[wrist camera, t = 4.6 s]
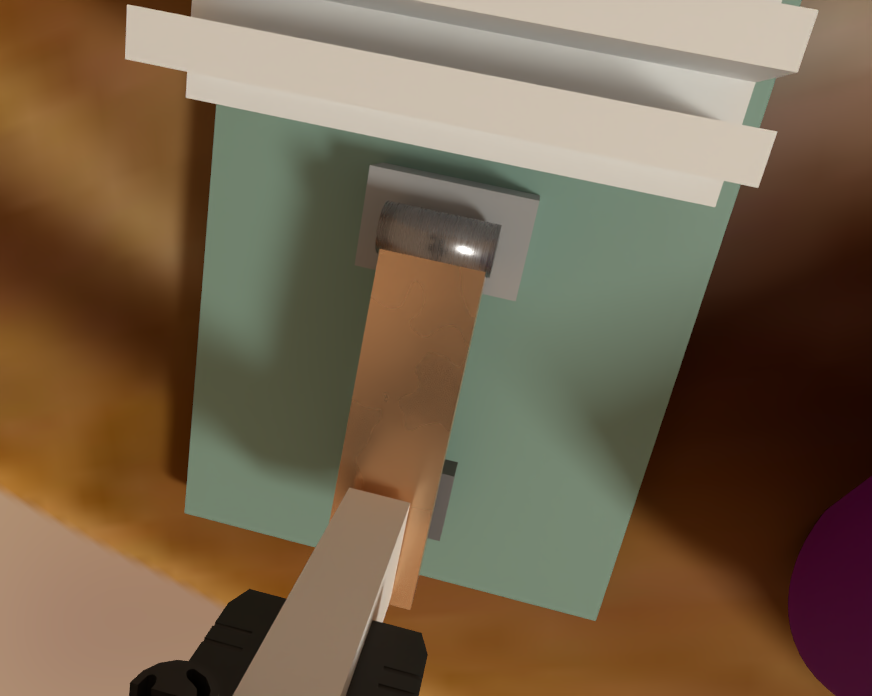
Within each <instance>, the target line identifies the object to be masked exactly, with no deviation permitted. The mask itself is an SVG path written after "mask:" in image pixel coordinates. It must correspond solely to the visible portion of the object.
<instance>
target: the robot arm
mask: <svg viewBox="0 0 872 696" xmlns="http://www.w3.org/2000/svg"><path fill="white" fill-rule="evenodd" d="M409 507H410V503H409V502H405V501H401V500H397V499H393V498H389V497H385V496H381V495H377V494H373V493H369V492H365V491H361V490H357V489H353V488H349V489H348V491H347V492H346V494H345V496H344V498H343V500H342V501H341V503H340V505H339V507H338V508H337V510H336V512H335V514H334V516H333V517H332V519H331V521H330V523H329V524H328V526H327V528H326V530H325V532H324V533H323V535H322V537H321V539H320V541H319V542H318V544H317V546H316V548H315V549H314V551H313V553H312V555H311V557H310V558H309V560H308V562H307V564H306V566H305V567H304V569H303V571H302V573H301V574H300V576H299V578H298V580H297V582H296V583H295V585H294V587H293V589H292V591H291V592H290V594H289V596H288V598H287V599H285V598H281V597H278V596H274V595H270V594H266V593H263V592H259V591H255V590H251V589H249V590H247V591H246V592H244V593H243V594H241V595H240V596H238V597H237V598H235V599H234V600H232V601H231V602H229V603H228V604H227V606H226V607H225V609H224V610H223V612H222V613H221V615H220V616H219V618H218V619H217V620H216V622H215V625H214V626H212V628H211V629H210V631H209V632H208V634H207V635H206V637H205V639H204V641H203V642H201V644H200V645H199V647H198V648H197V650H196V651H195V653H194V654H193V656H192V657H191V659H190V660H189V661H182V660H175V661H168V662H163V663H158V664H156V665H154V666H152V667H150V668H148V669H146V670H144V671H142V672H141V673H140V674H139V675H138V676H137V677H136V678H135V679H134V680H132V681H131V683H130V693H129V696H419V691H420V687H421V682H422V678H423V673H424V668H425V664H426V659H427V655H428V654H427V651H426V647H425V644H424V640H423V637H422V633H419V632H416V631H412V630H408V629H404V628H401V627H397V626H393V625H389V624H386V623H383V620H384V617H385V614H386V611H387V608H388V605H389V602H390V599H391V594H392V590H393V585H394V580H395V575H396V570H397V565H398V561H399V556H400V551H401V546H402V541H403V536H404V531H405V527H406V522H407V517H408V512H409Z"/></svg>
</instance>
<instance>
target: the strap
mask: <svg viewBox="0 0 872 696" xmlns="http://www.w3.org/2000/svg"><path fill="white" fill-rule="evenodd" d="M501 227H502V225H500V224H495V223H490V222H486V221H481V220H476V219H472V218H467V217H462V216H458V215H453V214H448V213H444V212H439V211H435V210H430V209H425V208H421V207H416V206H411V205H407V204H402V203H397V202H393V201H388V200H387V201H386V202H385V204H384V206H383V208H382V210H381V213H380V217H379V221H378V225H377V231H376V239H375V250H376V253H378V254H379V255H378V260H377V266H376V271H375V277H374V282H373V287H372V293H371V298H370V304H369V309H368V315H367V320H366V325H365V331H364V336H363V342H362V347H361V353H360V358H359V363H358V369H357V374H356V380H355V385H354V391H353V396H352V401H351V407H350V412H349V418H348V423H347V429H346V434H345V439H344V445H343V450H342V456H341V461H340V466H339V472H338V477H337V483H336V488H335V494H334V499H333V504H332V510H331V515H330V521H331V519H332V517H333V516H334V514H335V512H336V510H337V508H338V507H339V505H340V503H341V501H342V500H343V498H344V496H345V494H346V492H347V491H348V489H349V488H353V489H357V490H361V491H365V492H369V493H373V494H377V495H381V496H385V497H389V498H393V499H397V500H401V501H405V502H409V503H410V507H409V512H408V517H407V522H406V527H405V531H404V536H403V541H402V546H401V551H400V556H399V561H398V565H397V570H396V575H395V580H394V585H393V590H392V594H391V599H390V602H389V604H390V605H393V606H397V607H401V608H405V609H408V610H410V609H411V606H412V602H413V599H414V595H415V592H416V588H417V583H418V579H419V574H420V570H421V565H422V561H423V556H424V552H425V547H426V543H427V538H428V534H429V529H430V525H431V521H432V516H433V512H434V507H435V503H436V498H437V494H438V489H439V485H440V480H441V476H442V471H443V467H444V462H445V458H446V453H447V449H448V444H449V440H450V436H451V431H452V427H453V422H454V418H455V413H456V409H457V404H458V400H459V395H460V391H461V386H462V382H463V377H464V373H465V368H466V364H467V360H468V355H469V351H470V346H471V342H472V337H473V333H474V328H475V324H476V319H477V315H478V310H479V306H480V301H481V297H482V292H483V288H484V283H485V279H486V278H490V275H491V272H492V268H493V264H494V260H495V255H496V251H497V247H498V242H499V237H500V232H501ZM330 521H329V523H330Z"/></svg>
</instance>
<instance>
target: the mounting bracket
mask: <svg viewBox="0 0 872 696" xmlns="http://www.w3.org/2000/svg"><path fill="white" fill-rule="evenodd" d="M788 616H789V622H790V629H791V632H792V636H793V639H794V642H795V644H796V647H797V649H798V651H799V654H800V655H801V657H802V659H803V661H804V662H805V664H806V666H807V667H808V668H809V669H810V671H811V672H812V673H813V675H814V676H815V677H816V678H817V679H818V680H819V681H820V682H821V683H822V684H823V685H824V686H825V687H826V688H827V689H828V690H830V691H831V692H832V693H833V694H834V695H835V696H872V476H871V477H869V478H868V479H867V480H865V481H864V482H863V483H861V484H860V485H859V486H857V487H856V488H855V489H853V490H852V491H851V492H849V493H848V494H847V495H845V496H844V497H843V498H841V499H840V500H839V501H837V502H836V503H835V504H833V505H832V506H831V507H829V508H828V509H827V510H826V511H825V512H824V513H823V514H822V516H821V517H820V519H819V520H818V521H817V523H816V524H815V525H814V527H813V529H812V530H811V532H810V533H809V535H808V537H807V538H806V540H805V542H804V544H803V546H802V548H801V550H800V553H799V555H798V558H797V560H796V563H795V566H794V569H793V573H792V576H791V582H790V587H789V596H788Z"/></svg>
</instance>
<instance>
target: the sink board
mask: <svg viewBox="0 0 872 696" xmlns="http://www.w3.org/2000/svg"><path fill="white" fill-rule="evenodd" d="M801 1H802V0H192V7H191V17H189V16H184V15H179V14H174V13H169V12H164V11H159V10H154V9H149V8H144V7H138V6H133V5H128V4H127V20H126V48H125V59H128V60H133V61H138V62H142V63H147V64H152V65H157V66H162V67H167V68H172V69H177V70H182V71H187V86H186V98H190V99H194V100H199V101H204V102H209V103H214V104H216V115H215V128H214V141H213V154H212V167H211V179H210V192H209V205H208V218H207V231H206V244H205V257H204V269H203V282H202V295H201V308H200V321H199V334H198V347H197V359H196V372H195V385H194V398H193V411H192V424H191V437H190V449H189V462H188V475H187V488H186V501H185V513H187V514H190V515H194V516H198V517H202V518H206V519H209V520H213V521H217V522H221V523H225V524H228V525H232V526H236V527H240V528H244V529H247V530H251V531H255V532H259V533H263V534H267V535H270V536H274V537H278V538H282V539H286V540H289V541H293V542H297V543H301V544H305V545H308V546H312V547H316V546H317V544H318V542H319V541H320V539H321V537H322V535H323V533H324V532H325V530H326V528H327V526H328V524H329V521H330V515H331V510H332V504H333V499H334V494H335V488H336V483H337V477H338V472H339V466H340V461H341V456H342V450H343V445H344V439H345V434H346V429H347V423H348V418H349V412H350V407H351V401H352V396H353V391H354V385H355V380H356V374H357V369H358V363H359V358H360V353H361V347H362V342H363V336H364V331H365V325H366V320H367V315H368V309H369V304H370V298H371V293H372V287H373V282H374V277H375V271H376V266H377V260H378V255H379V254H378V253H376V250H375V239H376V231H377V225H378V221H379V217H380V213H381V210H382V208H383V206H384V204H385V202H386V201H387V200H388V201H393V202H397V203H402V204H407V205H411V206H416V207H421V208H425V209H430V210H435V211H439V212H444V213H448V214H453V215H458V216H462V217H467V218H472V219H476V220H481V221H486V222H490V223H495V224H500V225H502V227H501V232H500V237H499V242H498V247H497V251H496V255H495V260H494V264H493V268H492V272H491V275H490V278H486V279H485V283H484V288H483V292H482V297H481V301H480V306H479V310H478V315H477V319H476V324H475V328H474V333H473V337H472V342H471V346H470V351H469V355H468V360H467V364H466V368H465V373H464V377H463V382H462V386H461V391H460V395H459V400H458V404H457V409H456V413H455V418H454V422H453V427H452V431H451V436H450V440H449V444H448V449H447V453H446V458H445V462H444V467H443V471H442V476H441V480H440V485H439V489H438V494H437V498H436V503H435V507H434V512H433V516H432V521H431V525H430V529H429V534H428V538H427V543H426V547H425V552H424V556H423V561H422V565H421V570H420V574H419V575H423V576H426V577H430V578H434V579H438V580H442V581H445V582H449V583H453V584H457V585H461V586H465V587H468V588H472V589H476V590H480V591H484V592H487V593H491V594H495V595H499V596H503V597H506V598H510V599H514V600H518V601H522V602H525V603H529V604H533V605H537V606H541V607H544V608H548V609H552V610H556V611H560V612H563V613H567V614H571V615H575V616H579V617H583V618H586V619H590V620H594V621H596V618H597V615H598V612H599V609H600V606H601V603H602V600H603V597H604V594H605V591H606V588H607V585H608V582H609V579H610V576H611V573H612V570H613V567H614V564H615V561H616V558H617V555H618V552H619V549H620V546H621V543H622V540H623V537H624V534H625V531H626V528H627V525H628V522H629V519H630V516H631V513H632V510H633V507H634V504H635V501H636V498H637V495H638V492H639V489H640V486H641V483H642V480H643V477H644V474H645V471H646V468H647V465H648V462H649V459H650V456H651V453H652V450H653V447H654V444H655V441H656V438H657V435H658V432H659V429H660V426H661V423H662V420H663V417H664V414H665V411H666V408H667V405H668V402H669V399H670V396H671V393H672V390H673V387H674V384H675V381H676V378H677V375H678V372H679V369H680V366H681V363H682V359H683V356H684V353H685V350H686V347H687V344H688V341H689V338H690V335H691V332H692V329H693V326H694V323H695V320H696V317H697V314H698V311H699V308H700V305H701V302H702V299H703V296H704V293H705V290H706V287H707V284H708V281H709V278H710V275H711V272H712V269H713V266H714V263H715V260H716V257H717V254H718V251H719V248H720V245H721V242H722V239H723V236H724V233H725V230H726V227H727V224H728V221H729V218H730V215H731V212H732V209H733V206H734V203H735V200H736V197H737V194H738V191H739V188H740V185H741V184H742V185H747V186H752V187H757V188H758V187H759V184H760V181H761V178H762V175H763V172H764V169H765V166H766V164H767V161H768V158H769V155H770V152H771V149H772V146H773V143H774V140H775V137H776V134H777V132H776V131H771V130H766V129H761V128H760V125H761V122H762V119H763V116H764V113H765V110H766V107H767V104H768V100H769V97H770V94H771V91H772V88H773V85H774V82H775V79H776V78H777V77H781V76H785V75H789V74H794V73H798V70H799V67H800V64H801V61H802V58H803V55H804V52H805V49H806V46H807V43H808V40H809V37H810V34H811V32H812V29H813V26H814V23H815V20H816V17H817V14H818V11H819V10H816V9H810V8H804V7H800V4H801Z"/></svg>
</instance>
